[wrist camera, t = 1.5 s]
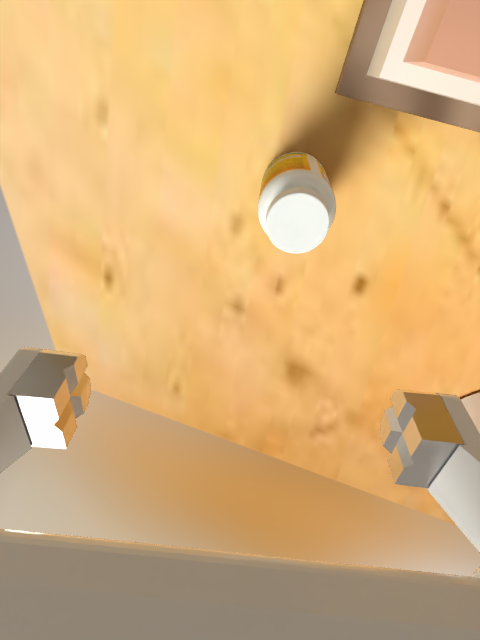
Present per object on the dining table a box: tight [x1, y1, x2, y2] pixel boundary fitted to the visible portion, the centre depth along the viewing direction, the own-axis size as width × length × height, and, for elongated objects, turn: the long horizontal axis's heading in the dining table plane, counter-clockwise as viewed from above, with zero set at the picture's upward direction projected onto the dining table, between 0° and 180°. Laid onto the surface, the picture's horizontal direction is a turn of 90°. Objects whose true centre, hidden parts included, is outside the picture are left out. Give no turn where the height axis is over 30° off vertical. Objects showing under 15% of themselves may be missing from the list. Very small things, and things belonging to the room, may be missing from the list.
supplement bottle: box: [258, 152, 336, 254], centre depth 28 cm, size 5×5×10 cm
